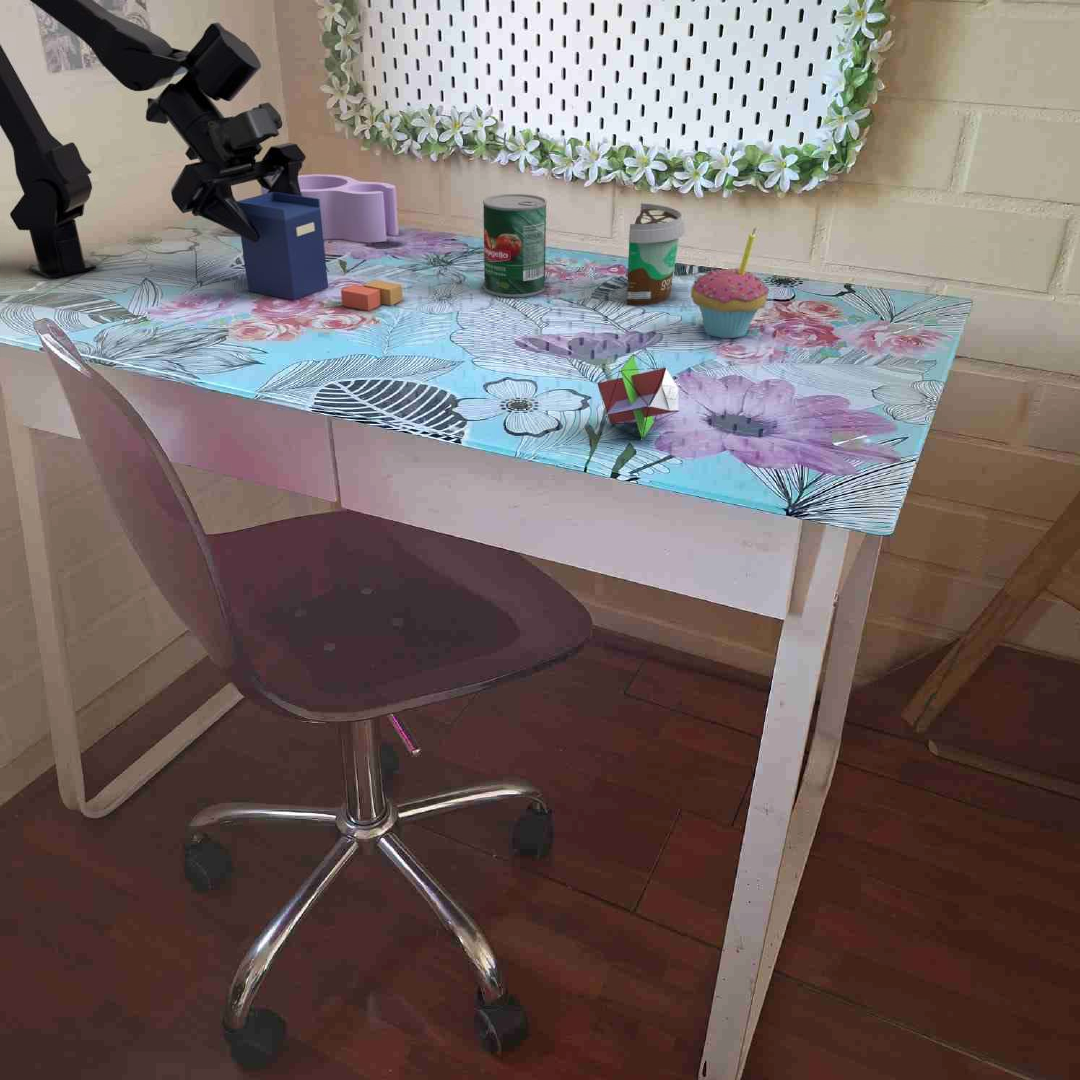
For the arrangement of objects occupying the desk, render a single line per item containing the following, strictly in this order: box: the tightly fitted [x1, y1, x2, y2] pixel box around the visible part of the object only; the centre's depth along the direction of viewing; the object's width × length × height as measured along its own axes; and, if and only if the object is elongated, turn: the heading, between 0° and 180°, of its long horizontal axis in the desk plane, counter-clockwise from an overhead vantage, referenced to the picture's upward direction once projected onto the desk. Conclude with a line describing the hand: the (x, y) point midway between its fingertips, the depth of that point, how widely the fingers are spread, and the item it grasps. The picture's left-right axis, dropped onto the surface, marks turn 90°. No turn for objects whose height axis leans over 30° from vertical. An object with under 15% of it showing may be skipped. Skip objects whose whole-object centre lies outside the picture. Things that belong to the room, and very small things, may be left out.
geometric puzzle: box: [596, 353, 680, 441], centre depth 89 cm, size 7×7×8 cm
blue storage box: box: [236, 192, 329, 301], centre depth 123 cm, size 8×7×11 cm
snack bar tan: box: [363, 279, 404, 307], centre depth 122 cm, size 4×2×2 cm, turn 62°
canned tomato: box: [482, 193, 548, 298], centre depth 124 cm, size 8×8×11 cm
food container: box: [625, 202, 686, 306], centre depth 123 cm, size 12×6×10 cm, turn 168°
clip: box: [260, 173, 399, 243], centre depth 150 cm, size 20×12×7 cm, turn 69°
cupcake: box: [690, 227, 770, 339], centre depth 111 cm, size 9×8×12 cm
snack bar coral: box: [340, 284, 382, 312], centre depth 120 cm, size 4×2×2 cm, turn 62°
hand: (283, 231), depth 122 cm, fingers open, 9 cm apart
